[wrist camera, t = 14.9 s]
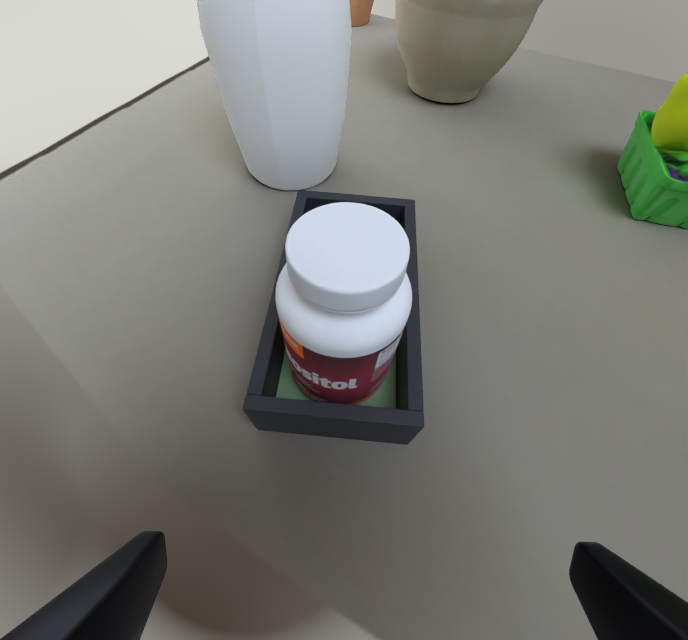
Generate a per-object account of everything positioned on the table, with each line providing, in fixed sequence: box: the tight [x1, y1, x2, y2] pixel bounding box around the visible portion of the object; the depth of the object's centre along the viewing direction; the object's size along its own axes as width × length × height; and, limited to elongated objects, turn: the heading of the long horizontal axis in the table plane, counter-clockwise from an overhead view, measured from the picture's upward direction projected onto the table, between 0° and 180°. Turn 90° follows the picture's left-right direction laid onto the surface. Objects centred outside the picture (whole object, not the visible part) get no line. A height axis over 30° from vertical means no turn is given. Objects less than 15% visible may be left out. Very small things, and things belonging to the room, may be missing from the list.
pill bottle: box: [275, 202, 412, 405], centre depth 17 cm, size 6×6×11 cm
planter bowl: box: [395, 0, 543, 103], centre depth 40 cm, size 16×16×11 cm
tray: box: [243, 190, 424, 444], centre depth 23 cm, size 17×9×4 cm, turn 175°
